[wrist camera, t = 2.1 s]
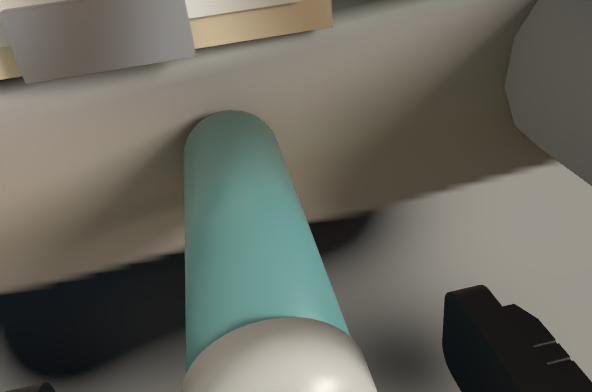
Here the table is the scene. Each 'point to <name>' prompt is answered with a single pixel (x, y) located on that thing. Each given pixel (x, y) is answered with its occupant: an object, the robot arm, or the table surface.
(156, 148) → the table surface
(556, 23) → the cup
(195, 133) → the marker
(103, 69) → the clipboard
